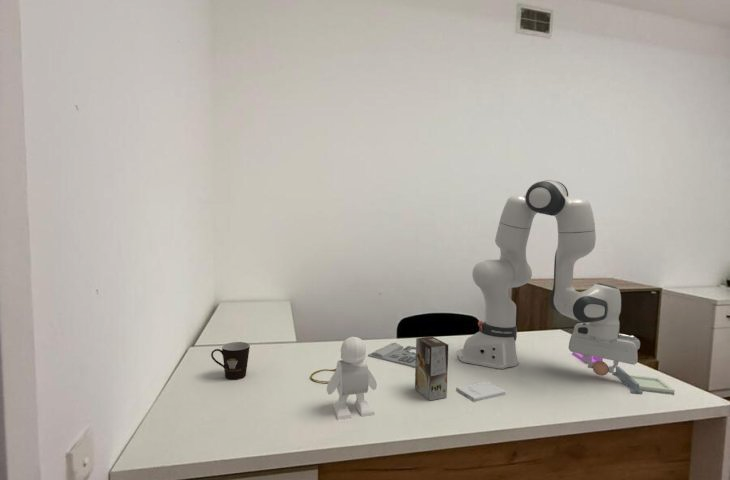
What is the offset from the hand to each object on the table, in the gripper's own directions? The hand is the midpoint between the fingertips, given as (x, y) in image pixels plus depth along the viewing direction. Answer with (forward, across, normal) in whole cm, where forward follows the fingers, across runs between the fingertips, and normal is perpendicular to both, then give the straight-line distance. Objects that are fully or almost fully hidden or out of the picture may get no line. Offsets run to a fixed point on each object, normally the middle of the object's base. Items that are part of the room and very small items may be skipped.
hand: (600, 370), depth 132 cm
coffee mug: (+4, +98, +78) cm, 125 cm away
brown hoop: (+5, +72, +57) cm, 92 cm away
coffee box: (+4, +41, +48) cm, 63 cm away
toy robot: (+4, +54, +71) cm, 89 cm away
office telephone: (+5, +63, +24) cm, 68 cm away
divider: (+3, -8, -1) cm, 8 cm away
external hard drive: (+4, +29, +38) cm, 48 cm away
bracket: (+4, +6, -20) cm, 21 cm away
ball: (+2, 0, 0) cm, 2 cm away
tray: (+3, -14, -3) cm, 14 cm away
